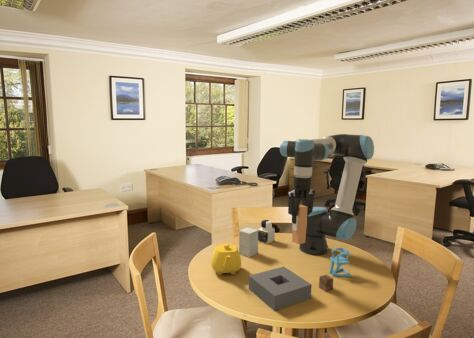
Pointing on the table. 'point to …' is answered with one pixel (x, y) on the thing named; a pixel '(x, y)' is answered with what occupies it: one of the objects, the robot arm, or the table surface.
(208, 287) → the table surface
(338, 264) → the blue tall openwork piece
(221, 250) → the teapot
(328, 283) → the short pin
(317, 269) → the table surface
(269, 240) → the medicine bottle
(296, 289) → the hole block
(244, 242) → the supplement box
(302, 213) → the tall pin
